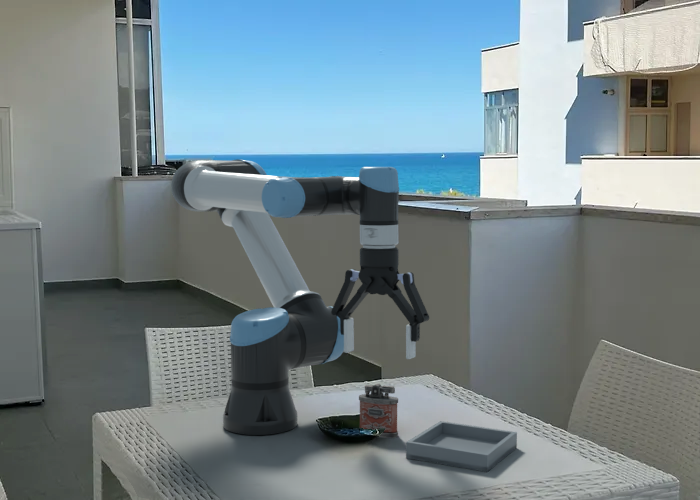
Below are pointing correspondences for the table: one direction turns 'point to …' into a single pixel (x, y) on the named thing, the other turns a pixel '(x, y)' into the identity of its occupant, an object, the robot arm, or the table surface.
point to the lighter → (379, 410)
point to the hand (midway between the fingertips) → (379, 354)
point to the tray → (462, 446)
